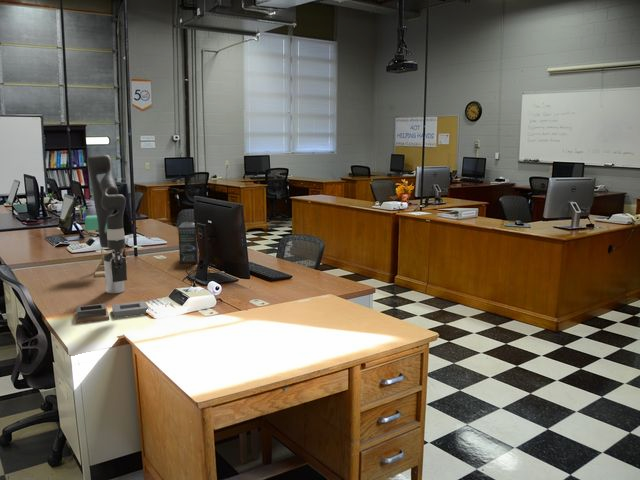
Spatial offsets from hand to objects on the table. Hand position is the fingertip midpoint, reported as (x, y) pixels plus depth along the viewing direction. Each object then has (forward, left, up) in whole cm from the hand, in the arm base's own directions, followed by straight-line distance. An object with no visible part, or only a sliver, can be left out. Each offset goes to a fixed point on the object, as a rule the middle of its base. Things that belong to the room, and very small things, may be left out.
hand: (118, 274), depth 262 cm
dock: (0, +4, -19) cm, 20 cm away
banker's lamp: (-87, -2, -19) cm, 89 cm away
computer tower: (-101, +54, -19) cm, 116 cm away
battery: (0, 0, -4) cm, 4 cm away
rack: (0, -13, -19) cm, 23 cm away
